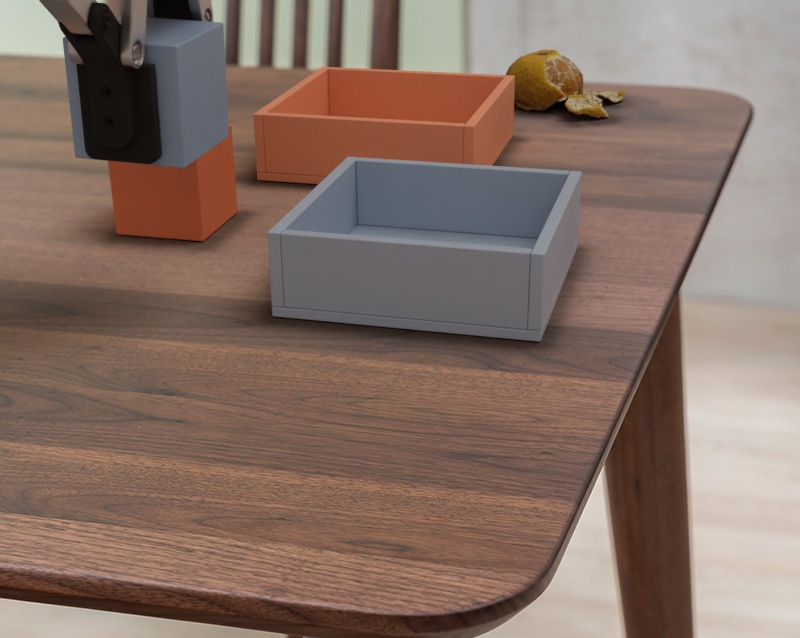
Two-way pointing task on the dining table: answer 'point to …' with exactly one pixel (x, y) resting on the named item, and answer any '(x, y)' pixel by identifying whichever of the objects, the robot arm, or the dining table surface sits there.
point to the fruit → (555, 85)
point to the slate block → (176, 88)
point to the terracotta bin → (382, 121)
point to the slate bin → (428, 247)
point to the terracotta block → (175, 196)
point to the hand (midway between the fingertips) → (153, 136)
